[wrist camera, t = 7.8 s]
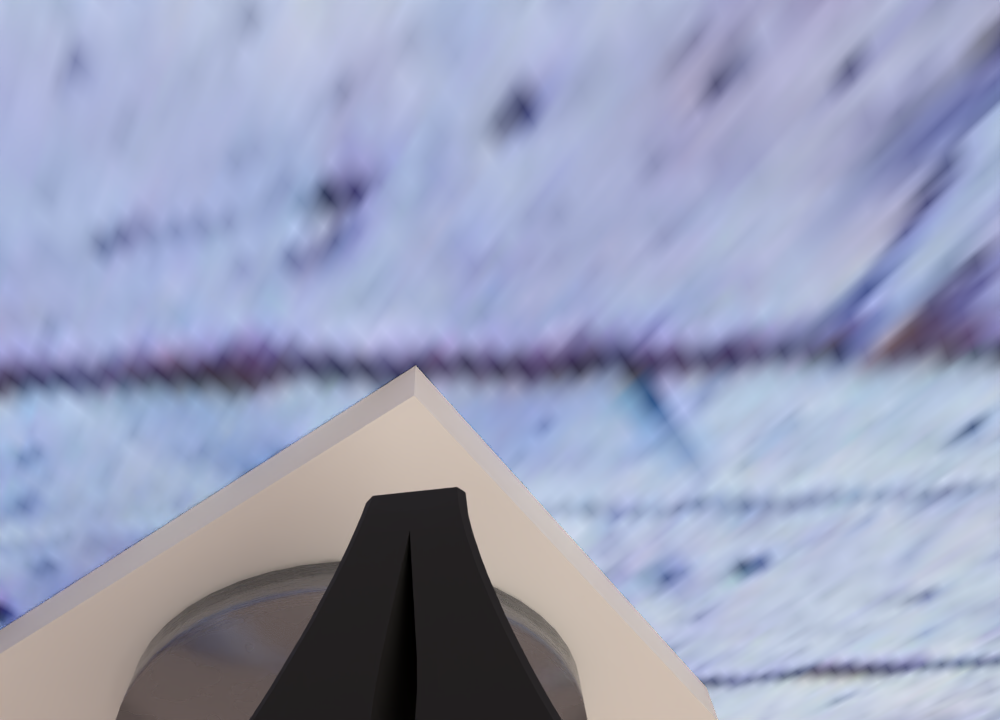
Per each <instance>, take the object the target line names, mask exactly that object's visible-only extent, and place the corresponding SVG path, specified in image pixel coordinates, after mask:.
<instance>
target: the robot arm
mask: <svg viewBox="0 0 1000 720" xmlns="http://www.w3.org/2000/svg"><path fill="white" fill-rule="evenodd" d="M249 720H562V719H561V717H560V716H559V714H558V712H557V711H556V709H555V707H554V706H553V704H552V702H551V701H550V699H549V697H548V696H547V694H546V692H545V690H544V688H543V687H542V685H541V683H540V681H539V680H538V678H537V676H536V674H535V672H534V670H533V669H532V667H531V665H530V663H529V661H528V659H527V657H526V655H525V653H524V651H523V649H522V647H521V646H520V644H519V642H518V640H517V638H516V636H515V634H514V632H513V630H512V628H511V626H510V623H509V621H508V619H507V617H506V615H505V613H504V611H503V608H502V606H501V604H500V602H499V599H498V597H497V595H496V592H495V590H494V588H493V585H492V583H491V581H490V579H489V576H488V574H487V571H486V569H485V566H484V563H483V561H482V558H481V555H480V552H479V549H478V546H477V543H476V540H475V537H474V534H473V531H472V527H471V523H470V519H469V515H468V507H467V499H466V492H464V491H463V490H461V489H460V488H458V487H451V488H441V489H432V490H423V491H413V492H404V493H394V494H385V495H375V496H372V497H371V498H370V499H369V500H368V501H367V502H366V504H365V507H364V510H363V512H362V515H361V517H360V520H359V522H358V524H357V527H356V529H355V531H354V534H353V536H352V538H351V540H350V542H349V545H348V547H347V549H346V551H345V553H344V555H343V557H342V559H341V561H340V564H339V566H338V568H337V570H336V572H335V574H334V576H333V578H332V580H331V582H330V583H329V585H328V587H327V589H326V591H325V593H324V595H323V597H322V599H321V600H320V602H319V604H318V606H317V608H316V610H315V612H314V614H313V616H312V617H311V619H310V621H309V623H308V625H307V627H306V628H305V630H304V632H303V634H302V635H301V637H300V639H299V640H298V642H297V644H296V645H295V647H294V649H293V650H292V652H291V654H290V655H289V657H288V659H287V660H286V662H285V664H284V665H283V667H282V669H281V670H280V672H279V674H278V675H277V677H276V679H275V680H274V682H273V684H272V685H271V687H270V689H269V690H268V692H267V693H266V695H265V696H264V698H263V699H262V701H261V703H260V704H259V706H258V707H257V709H256V710H255V712H254V713H253V715H252V716H251V718H250V719H249Z"/></svg>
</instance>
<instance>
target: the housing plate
mask: <svg viewBox="0 0 1000 720" xmlns="http://www.w3.org/2000/svg"><path fill="white" fill-rule="evenodd" d="M451 487H458V488H460V489H461V490H463V491H464V492H466V499H467V507H468V515H469V519H470V523H471V527H472V531H473V534H474V537H475V540H476V543H477V546H478V549H479V552H480V555H481V558H482V561H483V563H484V566H485V569H486V571H487V574H488V576H489V579H490V581H491V583H492V585H493V587H495V588H497V589H499V590H501V591H503V592H505V593H507V594H509V595H510V596H512V597H514V598H516V599H518V600H520V601H521V602H523V603H524V604H525V605H527V606H528V607H530V608H531V609H532V610H534V611H535V612H537V613H538V614H539V615H541V616H542V617H543V618H544V619H545V620H546V621H547V622H548V623H549V624H550V625H551V626H552V627H553V628H554V629H555V630H556V631H557V632H558V634H559V635H560V636H561V638H562V639H563V641H564V642H565V643H566V645H567V646H568V648H569V650H570V652H571V654H572V656H573V658H574V661H575V663H576V666H577V670H578V675H579V679H580V684H581V689H582V694H583V699H584V705H585V710H586V715H587V720H718V718H717V715H716V713H715V710H714V707H713V704H712V701H711V699H710V696H709V693H708V690H707V688H706V686H705V685H704V684H703V683H702V682H701V681H700V680H699V679H698V678H697V677H696V675H695V674H694V673H693V672H692V671H691V670H690V669H689V668H688V667H687V665H686V664H685V663H684V662H683V661H682V660H681V659H680V658H679V657H678V655H677V654H676V653H675V652H674V651H673V650H672V649H671V648H670V647H669V646H668V644H667V643H666V642H665V641H664V640H663V639H662V638H661V637H660V636H659V634H658V633H657V632H656V631H655V630H654V629H653V628H652V627H651V626H650V624H649V623H648V622H647V621H646V620H645V619H644V618H643V617H642V616H641V614H640V613H639V612H638V611H637V610H636V609H635V608H634V607H633V606H632V605H631V603H630V602H629V601H628V600H627V599H626V598H625V597H624V596H623V595H622V593H621V592H620V591H619V590H618V589H617V588H616V587H615V586H614V585H613V583H612V582H611V581H610V580H609V579H608V578H607V577H606V576H605V575H604V574H603V572H602V571H601V570H600V569H599V568H598V567H597V566H596V565H595V564H594V562H593V561H592V560H591V559H590V558H589V557H588V556H587V555H586V554H585V552H584V551H583V550H582V549H581V548H580V547H579V546H578V545H577V544H576V542H575V541H574V540H573V539H572V538H571V537H570V536H569V535H568V534H567V533H566V531H565V530H564V529H563V528H562V527H561V526H560V525H559V524H558V523H557V521H556V520H555V519H554V518H553V517H552V516H551V515H550V514H549V513H548V511H547V510H546V509H545V508H544V507H543V506H542V505H541V504H540V503H539V502H538V500H537V499H536V498H535V497H534V496H533V495H532V494H531V493H530V492H529V490H528V489H527V488H526V487H525V486H524V485H523V484H522V483H521V482H520V480H519V479H518V478H517V477H516V476H515V475H514V474H513V473H512V472H511V470H510V469H509V468H508V467H507V466H506V465H505V464H504V463H503V462H502V461H501V459H500V458H499V457H498V456H497V455H496V454H495V453H494V452H493V451H492V449H491V448H490V447H489V446H488V445H487V444H486V443H485V442H484V441H483V439H482V438H481V437H480V436H479V435H478V434H477V433H476V432H475V431H474V430H473V428H472V427H471V426H470V425H469V424H468V423H467V422H466V421H465V420H464V418H463V417H462V416H461V415H460V414H459V413H458V412H457V411H456V410H455V408H454V407H453V406H452V405H451V404H450V403H449V402H448V401H447V400H446V398H445V397H444V396H443V395H442V394H441V393H440V392H439V391H438V390H437V389H436V387H435V386H434V385H433V384H432V383H431V382H430V381H429V380H428V379H427V377H426V376H425V375H424V374H423V373H422V372H421V371H420V370H419V369H418V367H417V366H414V367H413V368H411V369H410V370H408V371H406V372H405V373H403V374H402V375H400V376H399V377H397V378H395V379H394V380H392V381H391V382H389V383H388V384H386V385H384V386H383V387H381V388H380V389H378V390H377V391H375V392H373V393H372V394H370V395H369V396H367V397H366V398H364V399H362V400H361V401H359V402H358V403H356V404H355V405H353V406H351V407H350V408H348V409H347V410H345V411H344V412H342V413H340V414H339V415H337V416H336V417H334V418H333V419H331V420H329V421H328V422H326V423H325V424H323V425H322V426H320V427H318V428H317V429H315V430H314V431H312V432H311V433H309V434H307V435H306V436H304V437H303V438H301V439H300V440H298V441H296V442H295V443H293V444H292V445H290V446H289V447H287V448H285V449H284V450H282V451H281V452H279V453H278V454H276V455H274V456H273V457H271V458H270V459H268V460H267V461H265V462H263V463H262V464H260V465H259V466H257V467H256V468H254V469H252V470H251V471H249V472H248V473H246V474H245V475H243V476H241V477H240V478H238V479H237V480H235V481H234V482H232V483H230V484H229V485H227V486H226V487H224V488H223V489H221V490H219V491H218V492H216V493H215V494H213V495H212V496H210V497H208V498H207V499H205V500H204V501H202V502H201V503H199V504H197V505H196V506H194V507H193V508H191V509H190V510H188V511H186V512H185V513H183V514H182V515H180V516H179V517H177V518H175V519H174V520H172V521H171V522H169V523H168V524H166V525H164V526H163V527H161V528H160V529H158V530H157V531H155V532H153V533H152V534H150V535H149V536H147V537H146V538H144V539H142V540H141V541H139V542H138V543H136V544H135V545H133V546H131V547H130V548H128V549H127V550H125V551H124V552H122V553H120V554H119V555H117V556H116V557H114V558H113V559H111V560H109V561H108V562H106V563H105V564H103V565H102V566H100V567H98V568H97V569H95V570H94V571H92V572H91V573H89V574H87V575H86V576H84V577H83V578H81V579H80V580H78V581H76V582H75V583H73V584H72V585H70V586H69V587H67V588H65V589H64V590H62V591H61V592H59V593H58V594H56V595H54V596H53V597H51V598H50V599H48V600H47V601H45V602H43V603H42V604H40V605H39V606H37V607H36V608H34V609H32V610H31V611H29V612H28V613H26V614H25V615H23V616H21V617H20V618H18V619H17V620H15V621H14V622H12V623H10V624H9V625H7V626H6V627H4V628H3V629H1V630H0V720H116V717H117V715H118V712H119V709H120V706H121V703H122V701H123V699H124V696H125V694H126V691H127V689H128V686H129V684H130V682H131V679H132V677H133V674H134V672H135V670H136V667H137V665H138V662H139V660H140V658H141V656H142V655H143V653H144V651H145V650H146V648H147V647H148V645H149V643H150V642H151V640H152V639H153V638H154V637H155V636H156V635H157V634H158V633H159V632H160V630H161V629H162V628H163V627H164V626H165V625H166V624H167V623H168V622H169V621H171V620H172V619H173V618H175V617H176V616H177V615H178V614H180V613H181V612H182V611H183V610H185V609H186V608H187V607H189V606H191V605H192V604H194V603H196V602H197V601H199V600H201V599H203V598H204V597H206V596H208V595H209V594H211V593H213V592H216V591H218V590H220V589H223V588H225V587H227V586H230V585H232V584H234V583H236V582H239V581H242V580H245V579H248V578H252V577H255V576H258V575H261V574H265V573H268V572H271V571H276V570H281V569H286V568H291V567H296V566H301V565H309V564H318V563H328V562H337V561H341V559H342V557H343V555H344V553H345V551H346V549H347V547H348V545H349V542H350V540H351V538H352V536H353V534H354V531H355V529H356V527H357V524H358V522H359V520H360V517H361V515H362V512H363V510H364V507H365V504H366V502H367V501H368V500H369V499H370V498H371V497H372V496H375V495H385V494H394V493H404V492H413V491H423V490H432V489H441V488H451Z"/></svg>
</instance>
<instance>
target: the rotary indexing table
mask: <svg viewBox="0 0 1000 720" xmlns="http://www.w3.org/2000/svg"><path fill="white" fill-rule="evenodd" d="M339 564H340V561H337V562H328V563H318V564H309V565H301V566H296V567H291V568H286V569H281V570H276V571H271V572H268V573H265V574H261V575H258V576H255V577H252V578H248V579H245V580H242V581H239V582H236V583H234V584H232V585H230V586H227V587H225V588H223V589H220V590H218V591H216V592H213V593H211V594H209V595H208V596H206V597H204V598H203V599H201V600H199V601H197V602H196V603H194V604H192V605H191V606H189V607H187V608H186V609H185V610H183V611H182V612H181V613H180V614H178V615H177V616H176V617H175V618H173V619H172V620H171V621H169V622H168V623H167V624H166V625H165V626H164V627H163V628H162V629H161V630H160V632H159V633H158V634H157V635H156V636H155V637H154V638H153V639H152V640H151V642H150V643H149V645H148V647H147V648H146V650H145V651H144V653H143V655H142V656H141V658H140V660H139V662H138V665H137V667H136V670H135V672H134V674H133V677H132V679H131V682H130V684H129V686H128V689H127V691H126V694H125V696H124V699H123V701H122V703H121V706H120V709H119V712H118V715H117V717H116V720H249V719H250V718H251V716H252V715H253V713H254V712H255V710H256V709H257V707H258V706H259V704H260V703H261V701H262V699H263V698H264V696H265V695H266V693H267V692H268V690H269V689H270V687H271V685H272V684H273V682H274V680H275V679H276V677H277V675H278V674H279V672H280V670H281V669H282V667H283V665H284V664H285V662H286V660H287V659H288V657H289V655H290V654H291V652H292V650H293V649H294V647H295V645H296V644H297V642H298V640H299V639H300V637H301V635H302V634H303V632H304V630H305V628H306V627H307V625H308V623H309V621H310V619H311V617H312V616H313V614H314V612H315V610H316V608H317V606H318V604H319V602H320V600H321V599H322V597H323V595H324V593H325V591H326V589H327V587H328V585H329V583H330V582H331V580H332V578H333V576H334V574H335V572H336V570H337V568H338V566H339ZM493 588H494V590H495V592H496V595H497V597H498V599H499V602H500V604H501V606H502V608H503V611H504V613H505V615H506V617H507V619H508V621H509V623H510V626H511V628H512V630H513V632H514V634H515V636H516V638H517V640H518V642H519V644H520V646H521V647H522V649H523V651H524V653H525V655H526V657H527V659H528V661H529V663H530V665H531V667H532V669H533V670H534V672H535V674H536V676H537V678H538V680H539V681H540V683H541V685H542V687H543V688H544V690H545V692H546V694H547V696H548V697H549V699H550V701H551V702H552V704H553V706H554V707H555V709H556V711H557V712H558V714H559V716H560V717H561V719H562V720H587V715H586V710H585V705H584V699H583V694H582V689H581V684H580V679H579V675H578V670H577V666H576V663H575V661H574V658H573V656H572V654H571V652H570V650H569V648H568V646H567V645H566V643H565V642H564V641H563V639H562V638H561V636H560V635H559V634H558V632H557V631H556V630H555V629H554V628H553V627H552V626H551V625H550V624H549V623H548V622H547V621H546V620H545V619H544V618H543V617H542V616H541V615H539V614H538V613H537V612H535V611H534V610H532V609H531V608H530V607H528V606H527V605H525V604H524V603H523V602H521V601H520V600H518V599H516V598H514V597H512V596H510V595H509V594H507V593H505V592H503V591H501V590H499V589H497V588H495V587H493Z"/></svg>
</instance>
